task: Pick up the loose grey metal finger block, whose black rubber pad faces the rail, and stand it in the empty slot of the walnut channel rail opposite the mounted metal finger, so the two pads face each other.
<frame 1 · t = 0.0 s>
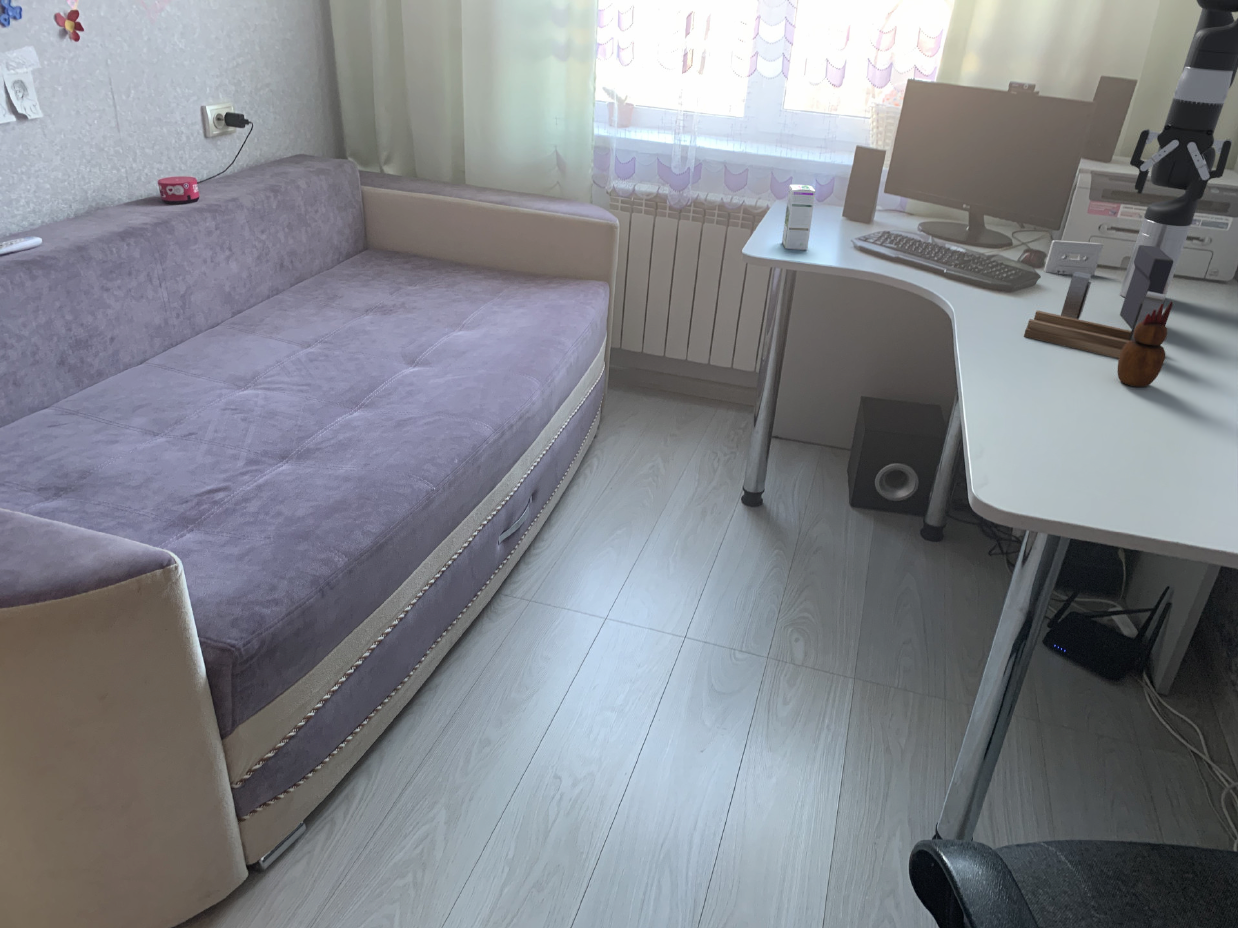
hand: (1166, 197, 163), 29 cm above the table, tool pointing down, fingers open, 8 cm apart
cassette: (1068, 274, 226), on the table
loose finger: (1067, 322, 192), on the table
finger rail: (1090, 343, 181), on the table
wooden figurine: (1132, 384, 164), on the table
dark grey boxy piece: (1133, 324, 194), on the table
syrup box: (793, 247, 232), on the table
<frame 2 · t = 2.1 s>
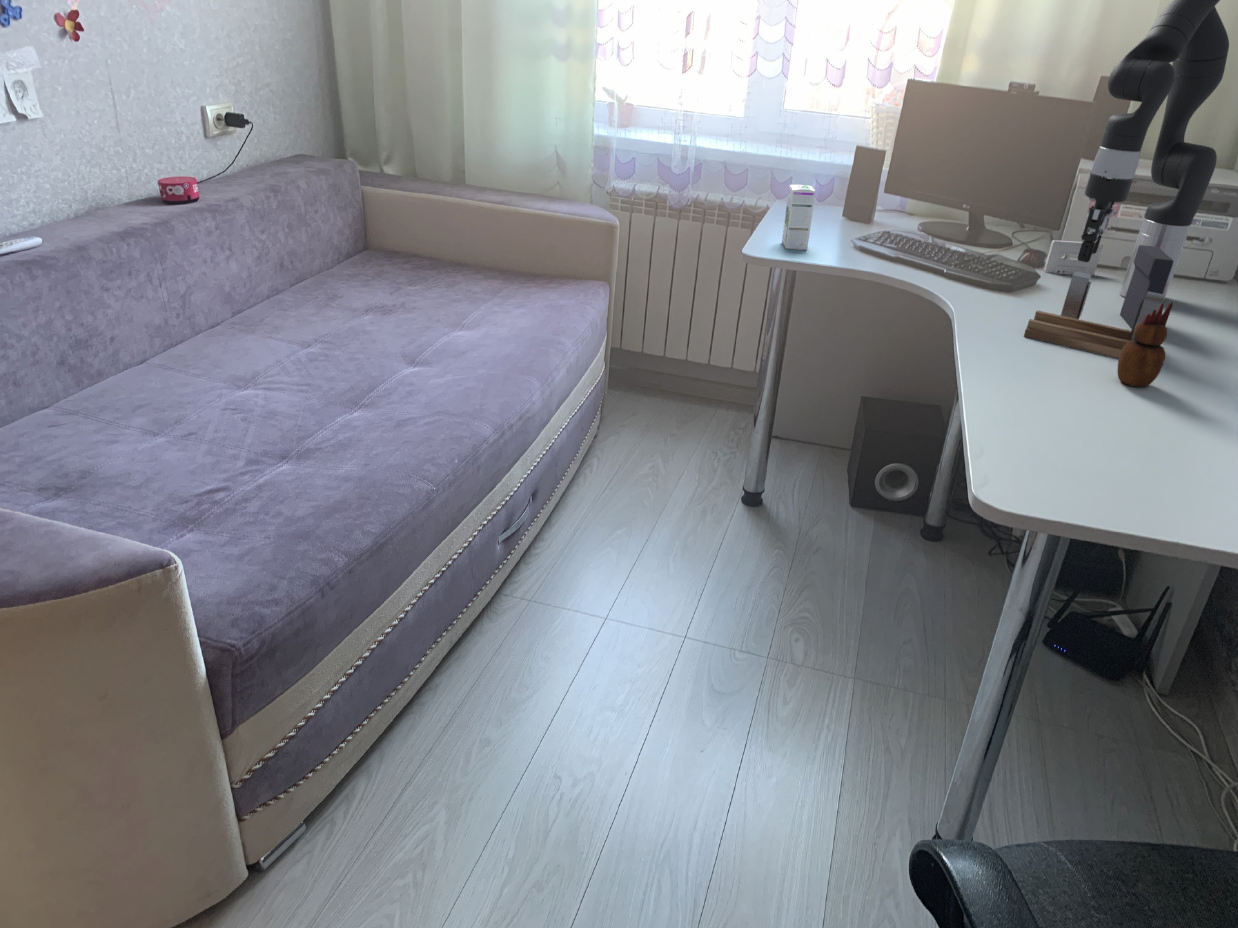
hand: (1086, 257, 186), 14 cm above the table, tool pointing down, fingers open, 8 cm apart
nothing on the table moved.
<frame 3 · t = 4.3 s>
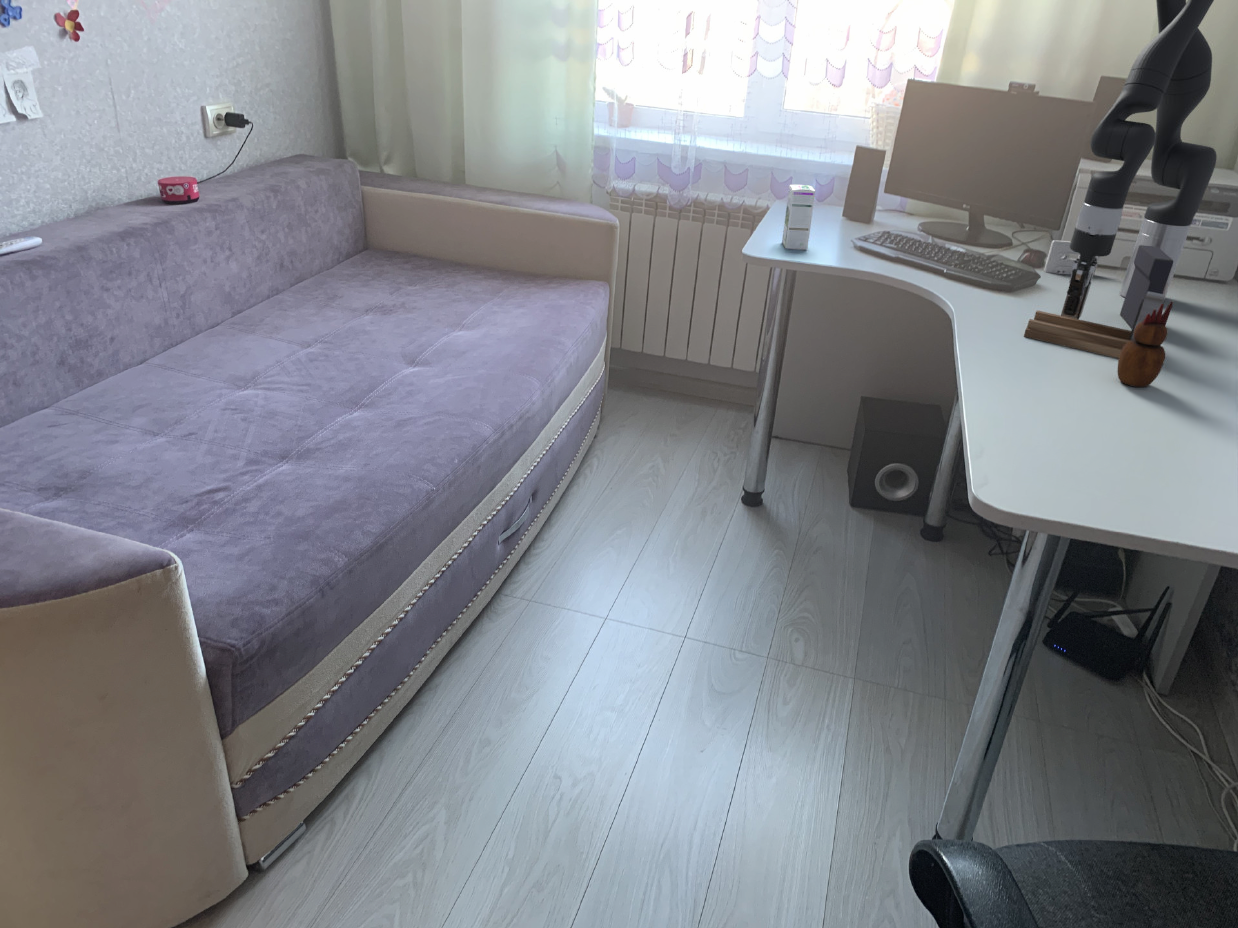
hand: (1071, 311, 191), 2 cm above the table, tool pointing down, fingers closed on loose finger, 4 cm apart
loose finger: (1068, 322, 192), on the table, touching gripper
everything else where it was.
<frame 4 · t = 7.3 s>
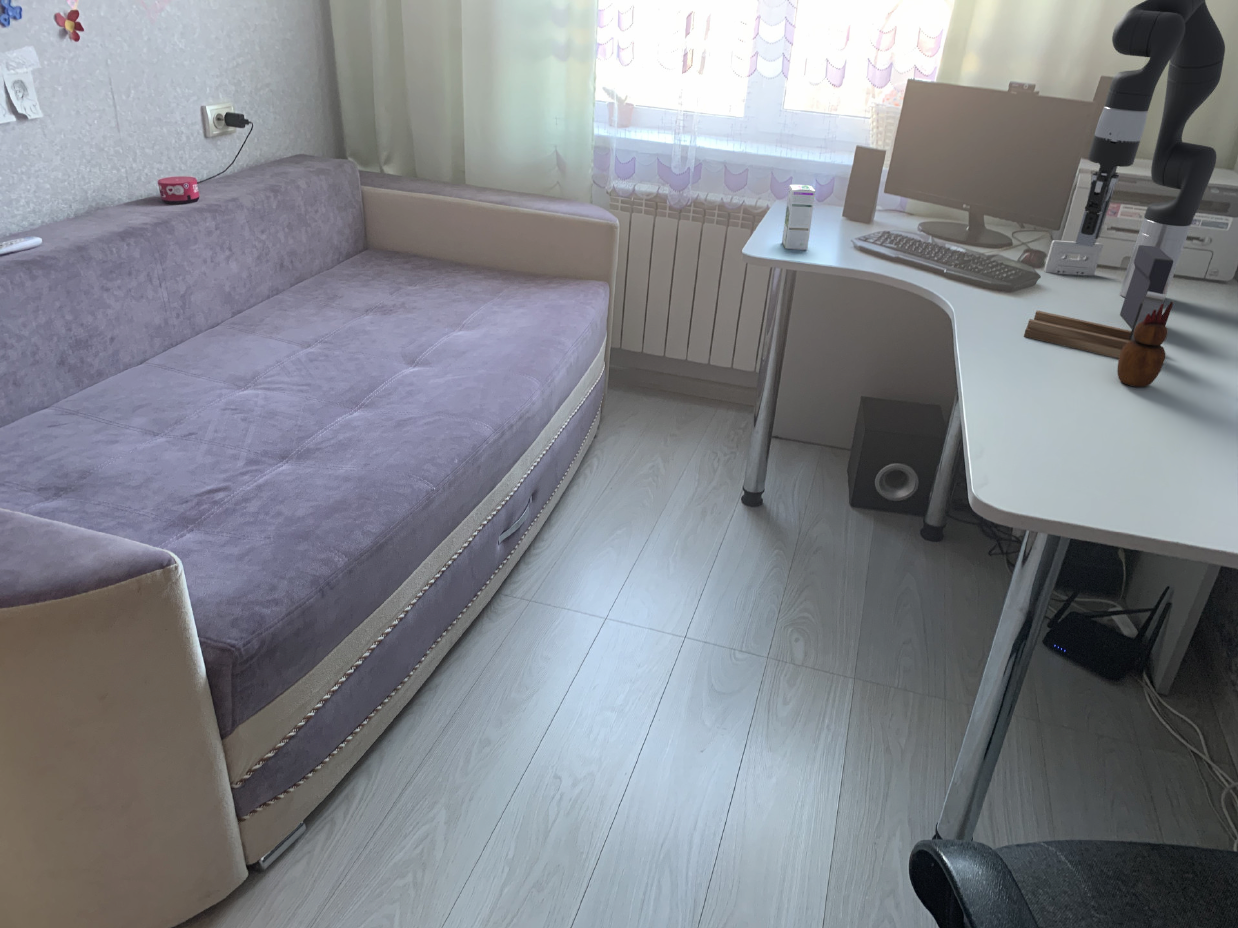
hand: (1089, 231, 174), 21 cm above the table, tool pointing down, fingers closed on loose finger, 4 cm apart
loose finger: (1085, 243, 175), point 18 cm above the table, touching gripper
everything else where it was.
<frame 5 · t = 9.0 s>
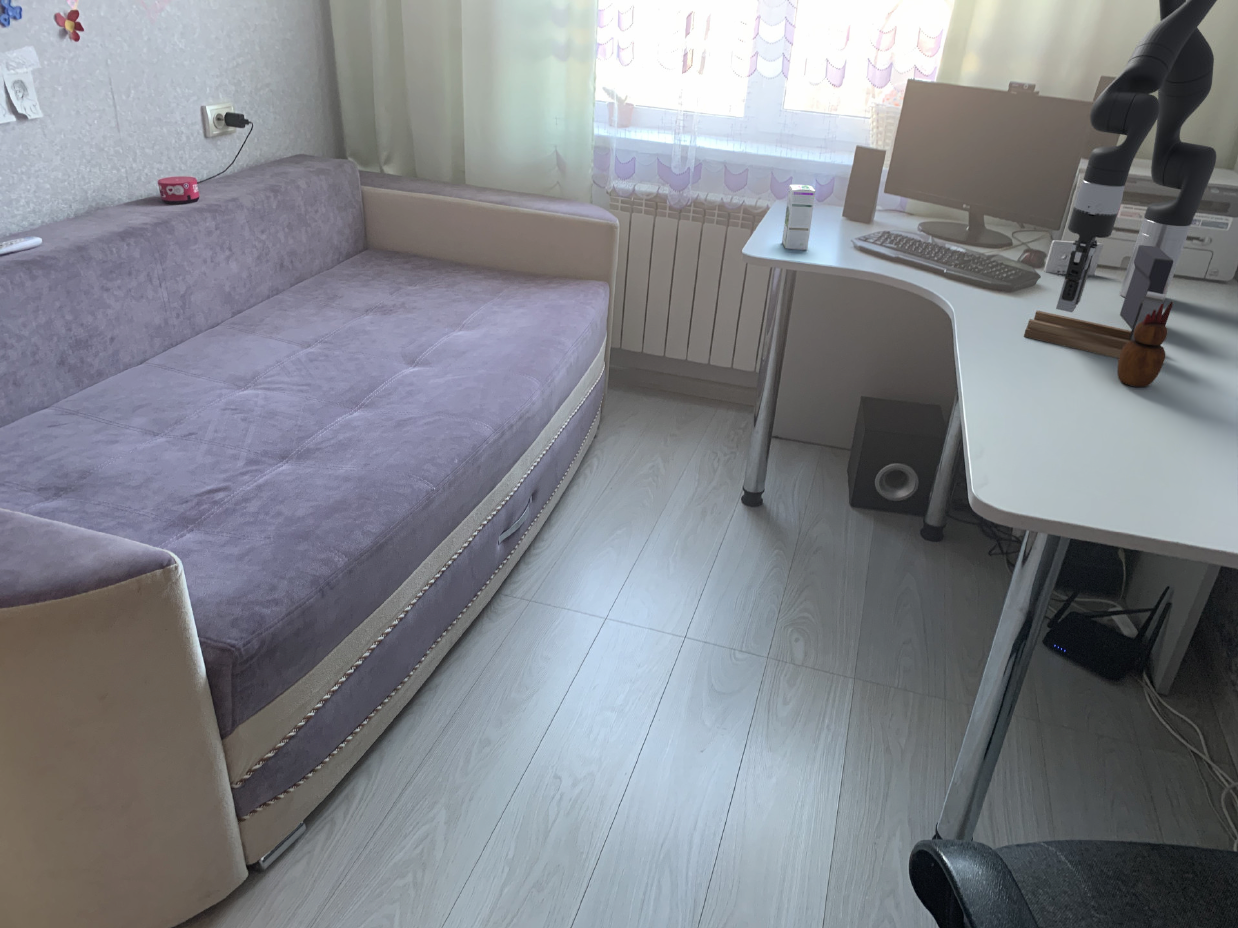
hand: (1069, 297, 180), 8 cm above the table, tool pointing down, fingers closed on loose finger, 4 cm apart
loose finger: (1065, 308, 181), point 6 cm above the table, touching gripper
everything else where it was.
when the fingers open (5 cm above the table, at t = 10.4 s): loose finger stays where it is, resting on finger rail.
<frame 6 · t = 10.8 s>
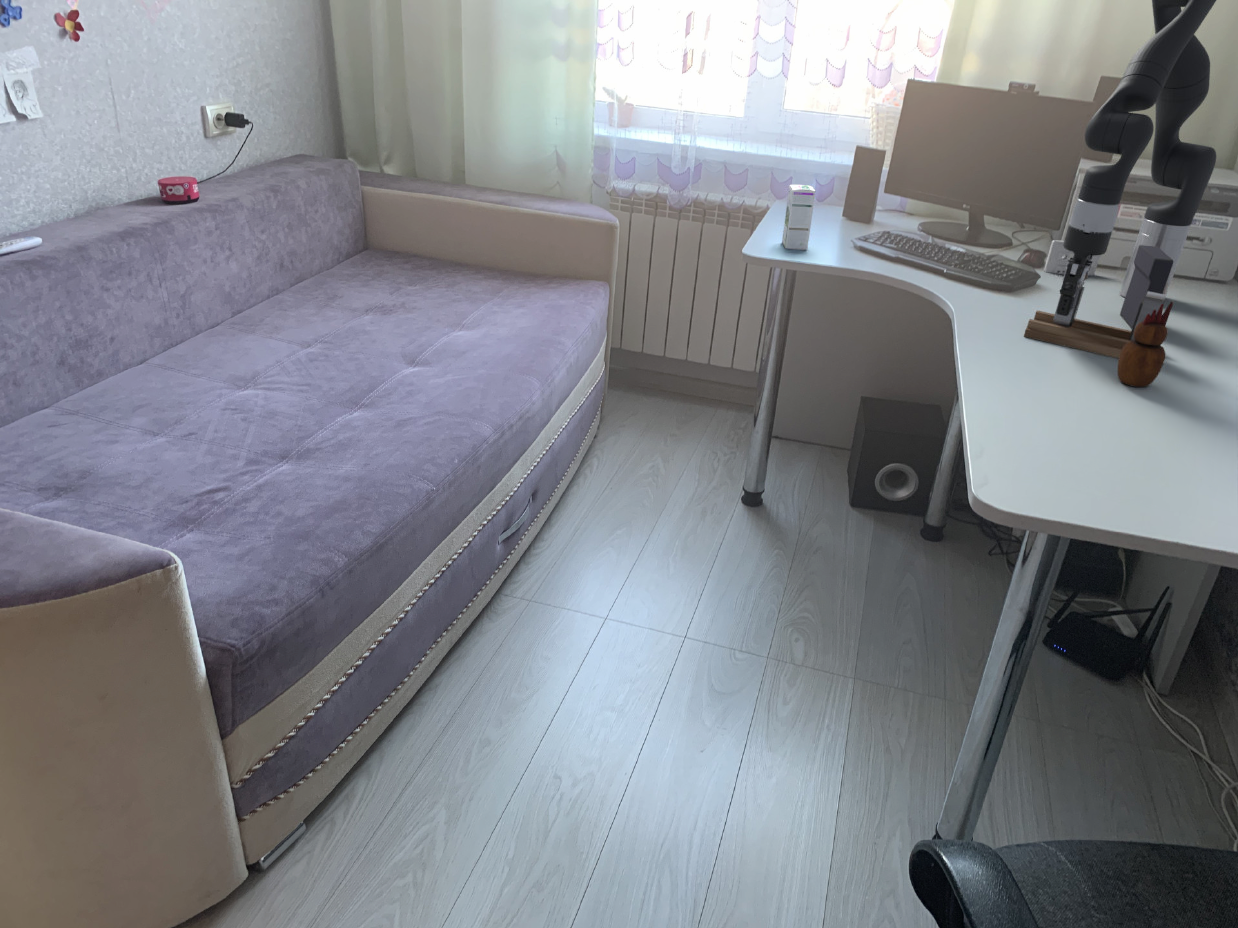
hand: (1066, 309, 181), 6 cm above the table, tool pointing down, fingers open, 8 cm apart
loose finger: (1060, 329, 183), point 1 cm above the table, touching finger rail
everything else where it was.
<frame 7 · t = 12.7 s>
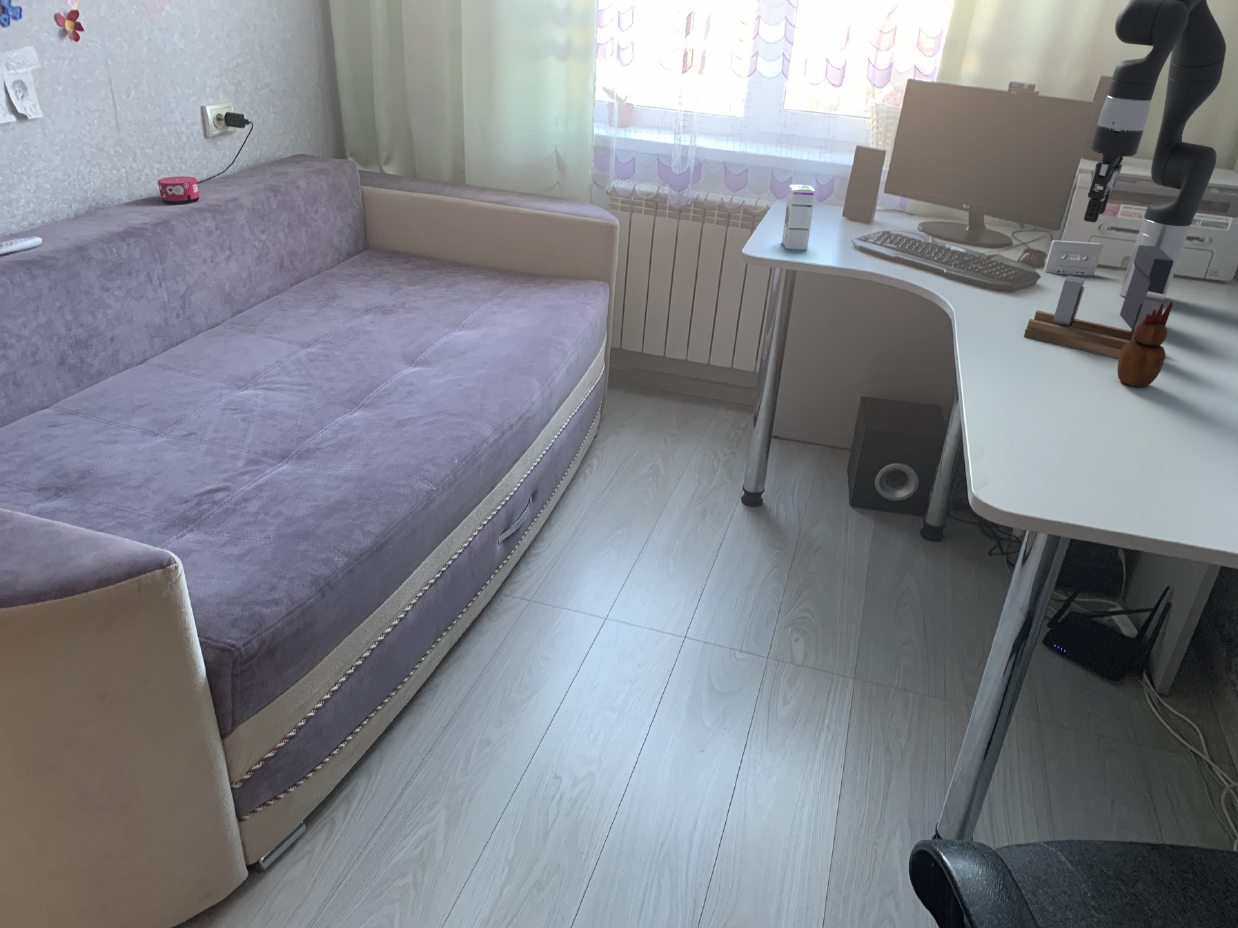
hand: (1093, 217, 173), 23 cm above the table, tool pointing down, fingers open, 8 cm apart
nothing on the table moved.
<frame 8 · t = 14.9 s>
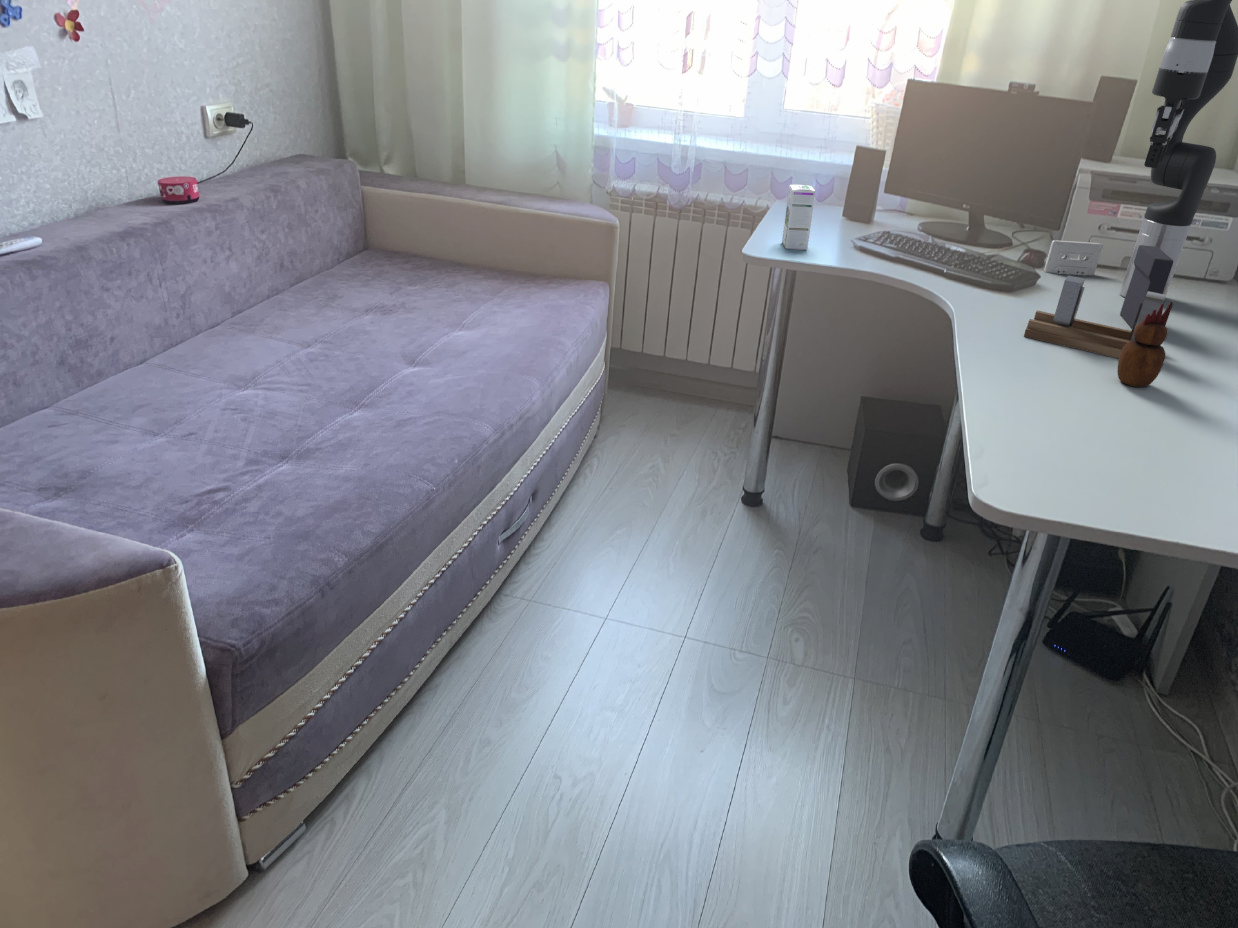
hand: (1153, 164, 170), 33 cm above the table, tool pointing down, fingers open, 8 cm apart
nothing on the table moved.
at the end: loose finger 0.0 cm from the target spot on the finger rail, point 1.5 cm above the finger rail's base; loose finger tilted 0°; the gripper is holding nothing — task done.
